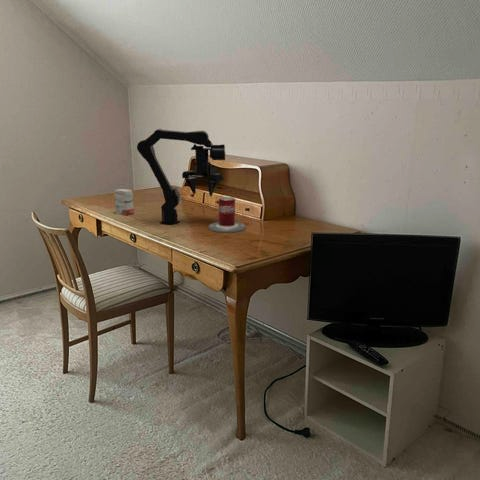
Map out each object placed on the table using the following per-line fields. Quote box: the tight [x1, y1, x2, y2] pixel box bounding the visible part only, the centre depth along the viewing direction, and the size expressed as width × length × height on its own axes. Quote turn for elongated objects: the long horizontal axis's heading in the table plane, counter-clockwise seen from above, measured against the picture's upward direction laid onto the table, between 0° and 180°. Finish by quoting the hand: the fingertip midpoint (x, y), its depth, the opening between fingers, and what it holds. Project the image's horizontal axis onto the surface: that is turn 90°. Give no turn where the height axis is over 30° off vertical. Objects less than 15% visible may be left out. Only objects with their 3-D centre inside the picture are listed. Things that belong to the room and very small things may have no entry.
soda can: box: [217, 196, 236, 227], centre depth 218 cm, size 7×7×12 cm
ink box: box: [114, 188, 135, 216], centre depth 243 cm, size 9×5×12 cm, turn 53°
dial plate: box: [208, 221, 246, 234], centre depth 219 cm, size 16×16×1 cm
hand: (202, 195), depth 224 cm, fingers open, 9 cm apart
